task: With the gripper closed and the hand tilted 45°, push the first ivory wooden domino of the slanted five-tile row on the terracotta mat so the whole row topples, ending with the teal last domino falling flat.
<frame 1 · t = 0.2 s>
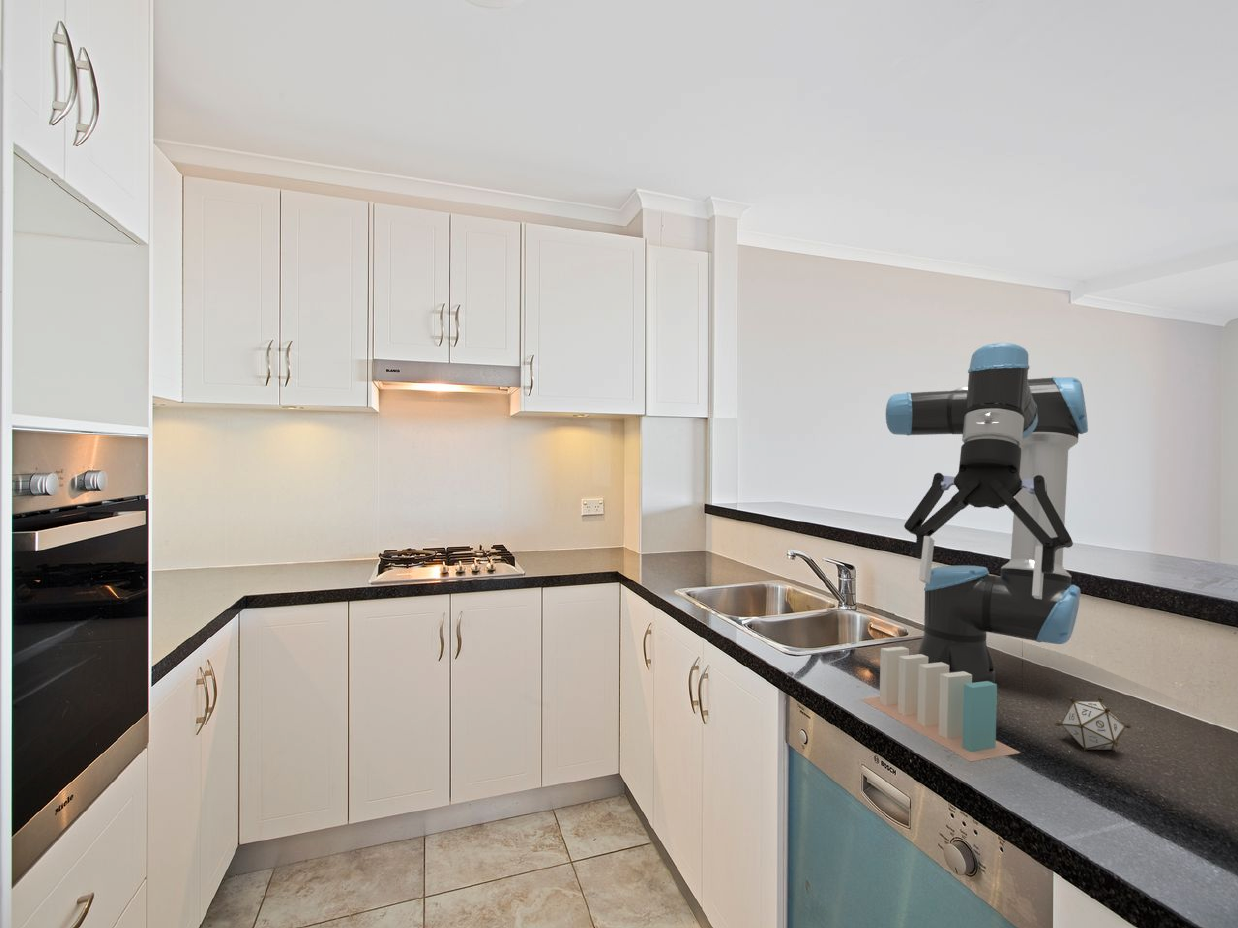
hand: (977, 589, 83), 28 cm above the worktop, tool tilted 20°, fingers open, 13 cm apart
game die: (1091, 751, 95), on the worktop
mat: (932, 726, 102), on the worktop
domino 3: (932, 722, 102), point 1 cm above the worktop, touching mat
domino 2: (912, 712, 106), point 1 cm above the worktop, touching mat
domino 4: (954, 734, 98), point 1 cm above the worktop, touching mat
domino 1: (893, 702, 111), point 1 cm above the worktop, touching mat
last domino: (978, 747, 94), point 1 cm above the worktop, touching mat
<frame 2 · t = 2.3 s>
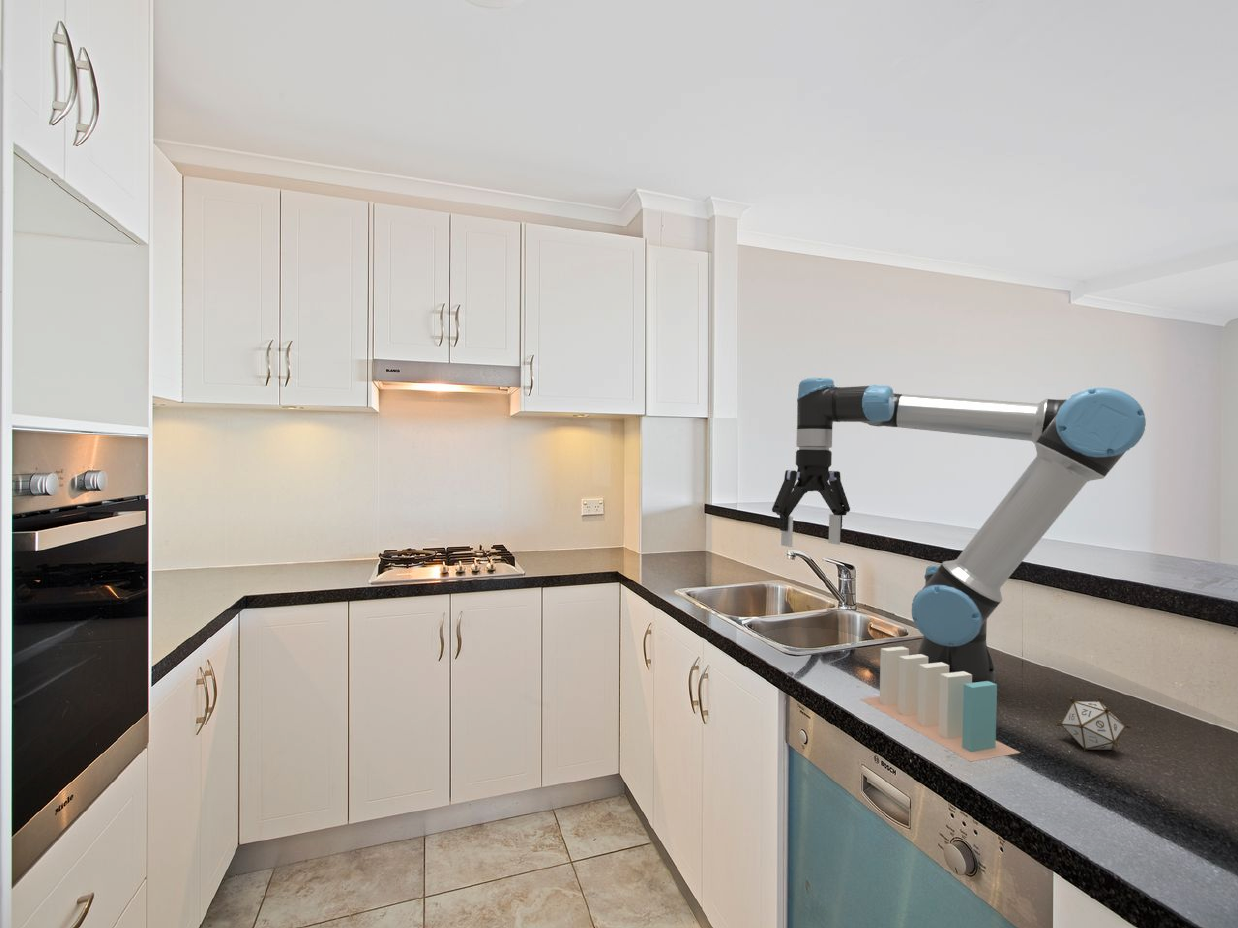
hand: (810, 544, 132), 27 cm above the worktop, tool pointing down, fingers open, 13 cm apart
nothing on the worktop moved.
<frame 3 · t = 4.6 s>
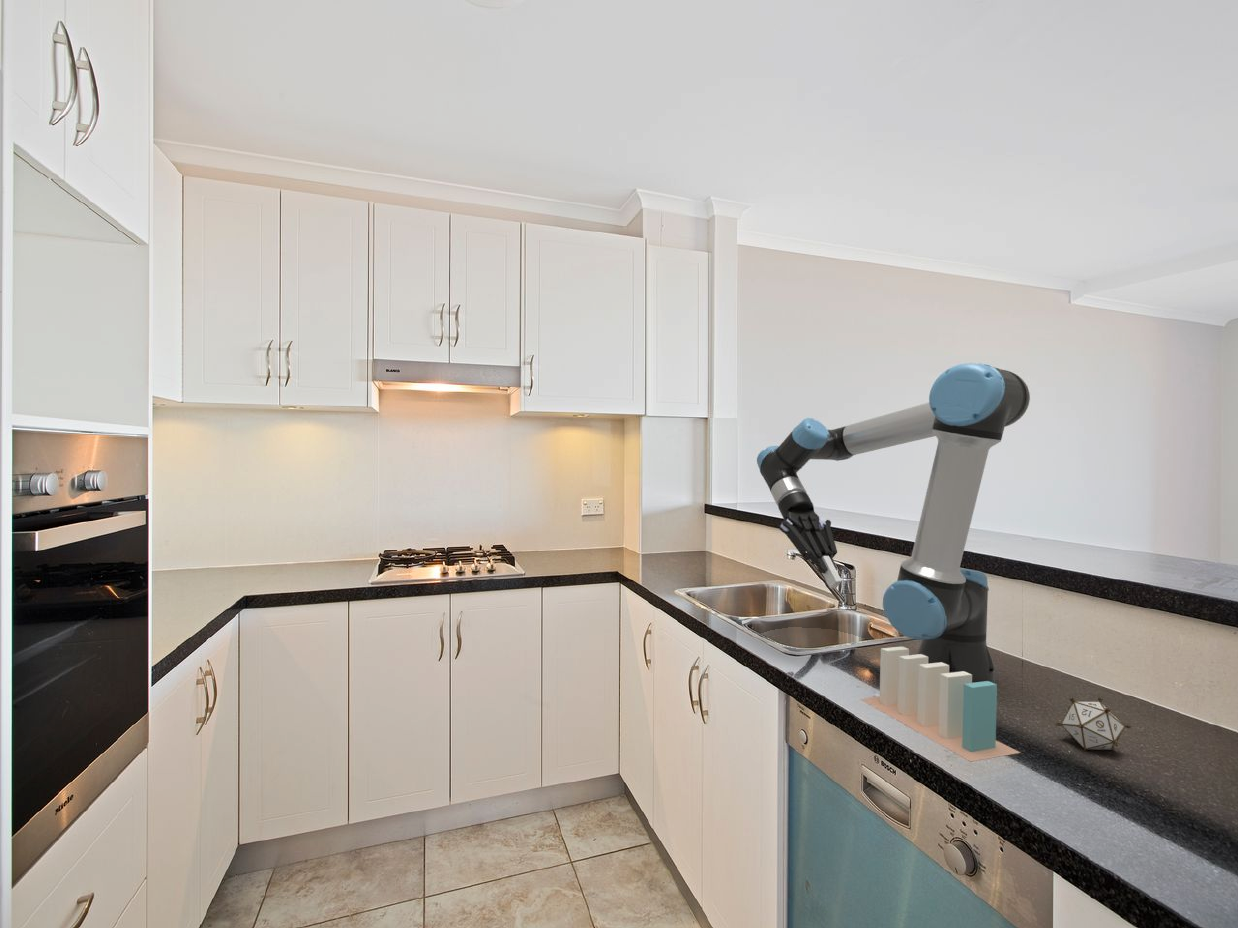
hand: (836, 584, 127), 19 cm above the worktop, tool tilted 45°, fingers closed
nothing on the worktop moved.
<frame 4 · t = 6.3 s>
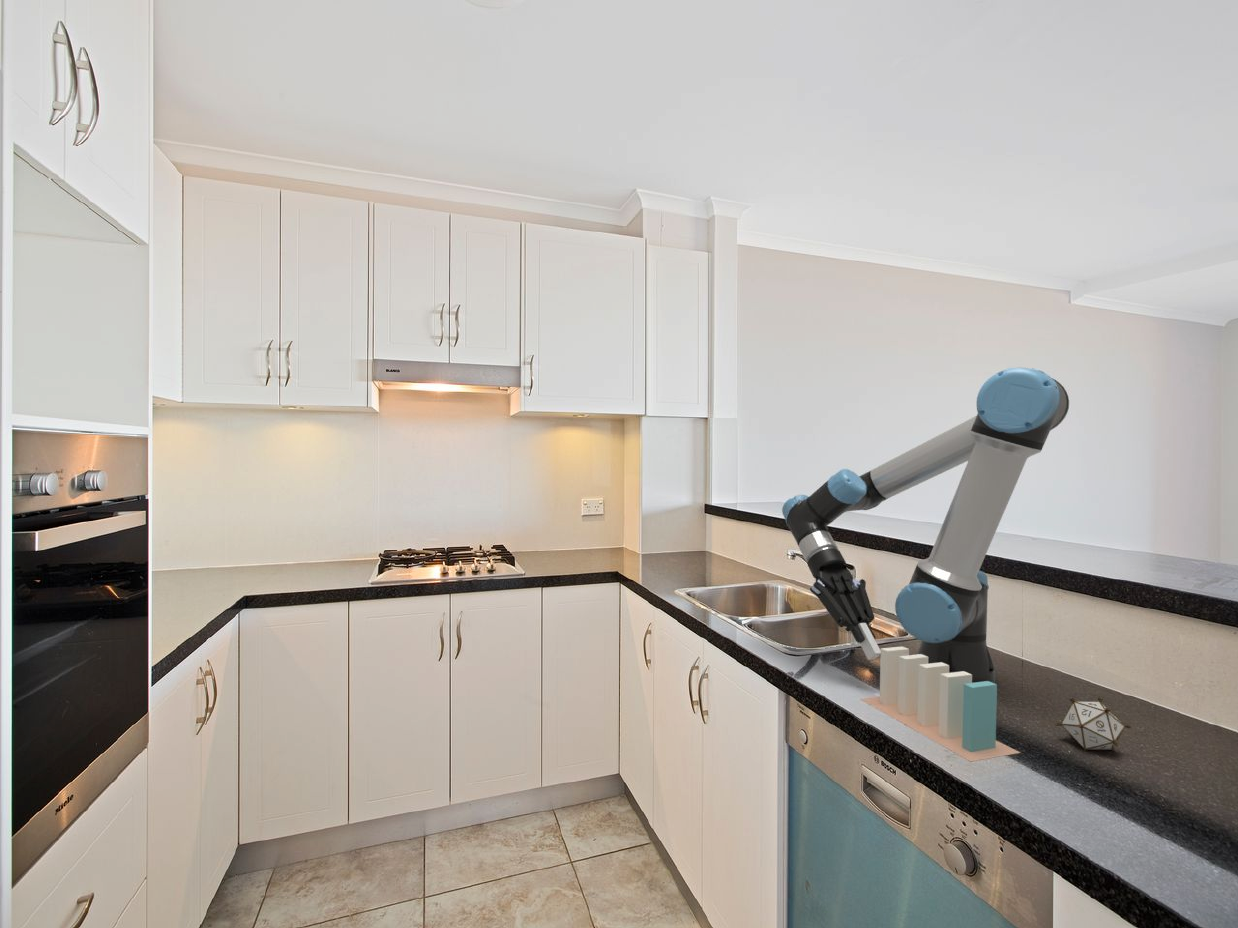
hand: (874, 656, 115), 8 cm above the worktop, tool tilted 45°, fingers closed
nothing on the worktop moved.
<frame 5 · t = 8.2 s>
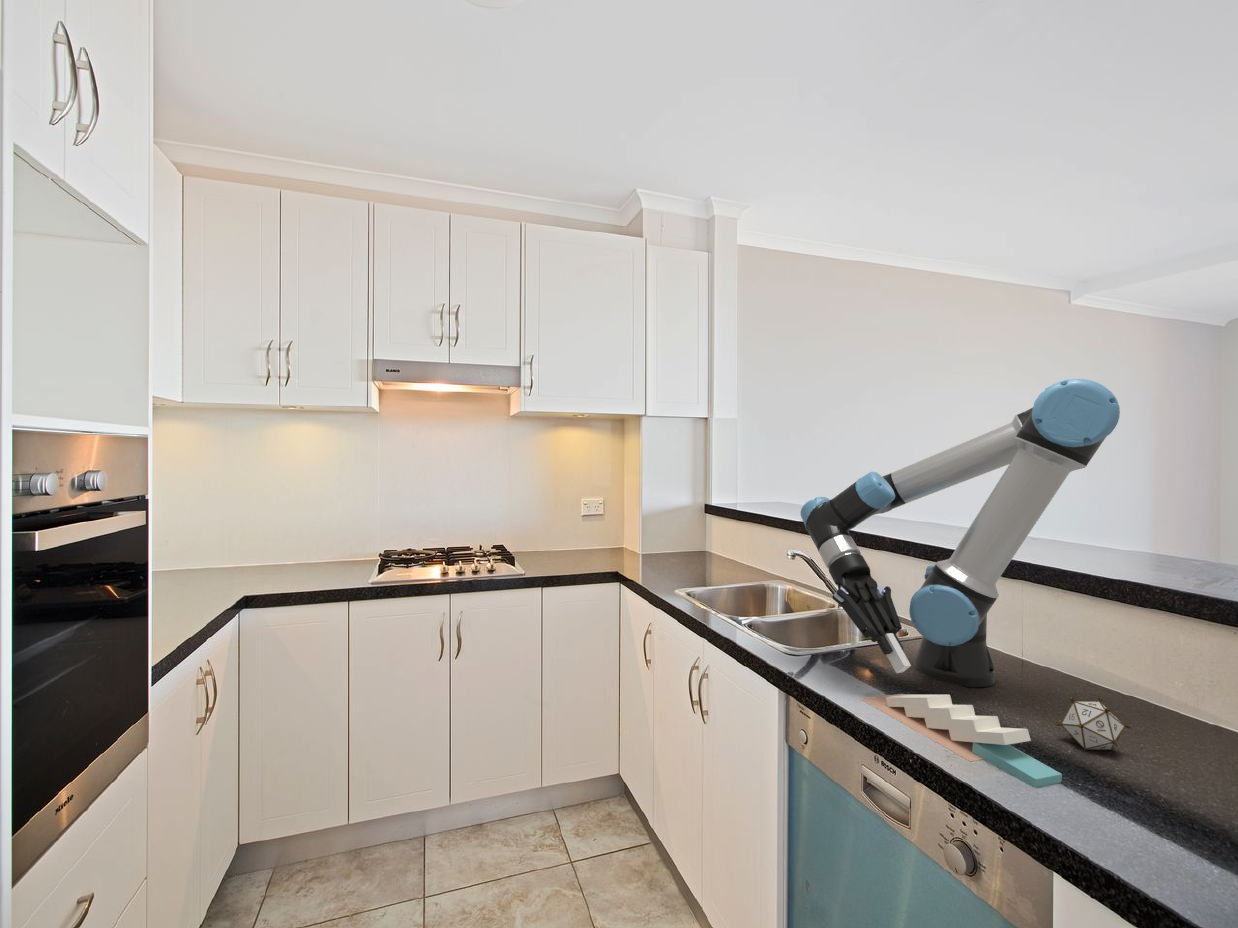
hand: (903, 669, 109), 8 cm above the worktop, tool tilted 45°, fingers closed
domino 3: (937, 721, 101), point 1 cm above the worktop, tilted 69°, touching domino 2, domino 4, mat
domino 2: (916, 710, 106), point 1 cm above the worktop, tilted 69°, touching domino 1, domino 3, mat
domino 4: (962, 732, 97), point 2 cm above the worktop, tilted 69°, touching domino 3, last domino
domino 1: (897, 700, 110), point 1 cm above the worktop, tilted 69°, touching domino 2, mat
last domino: (985, 745, 93), point 2 cm above the worktop, tilted 93°, touching domino 4, mat
everything else where it was.
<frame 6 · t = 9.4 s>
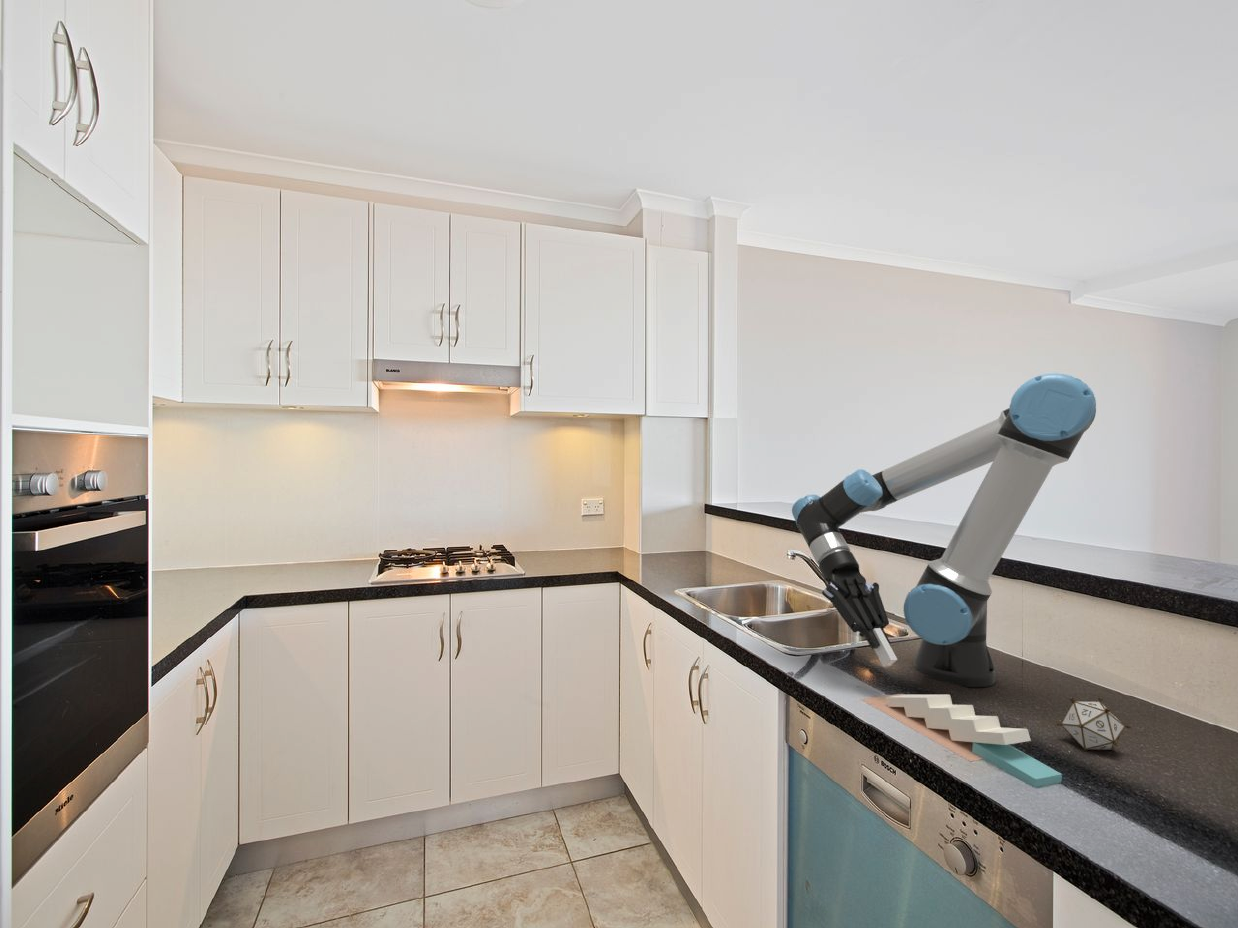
hand: (890, 663, 112), 8 cm above the worktop, tool tilted 45°, fingers closed
nothing on the worktop moved.
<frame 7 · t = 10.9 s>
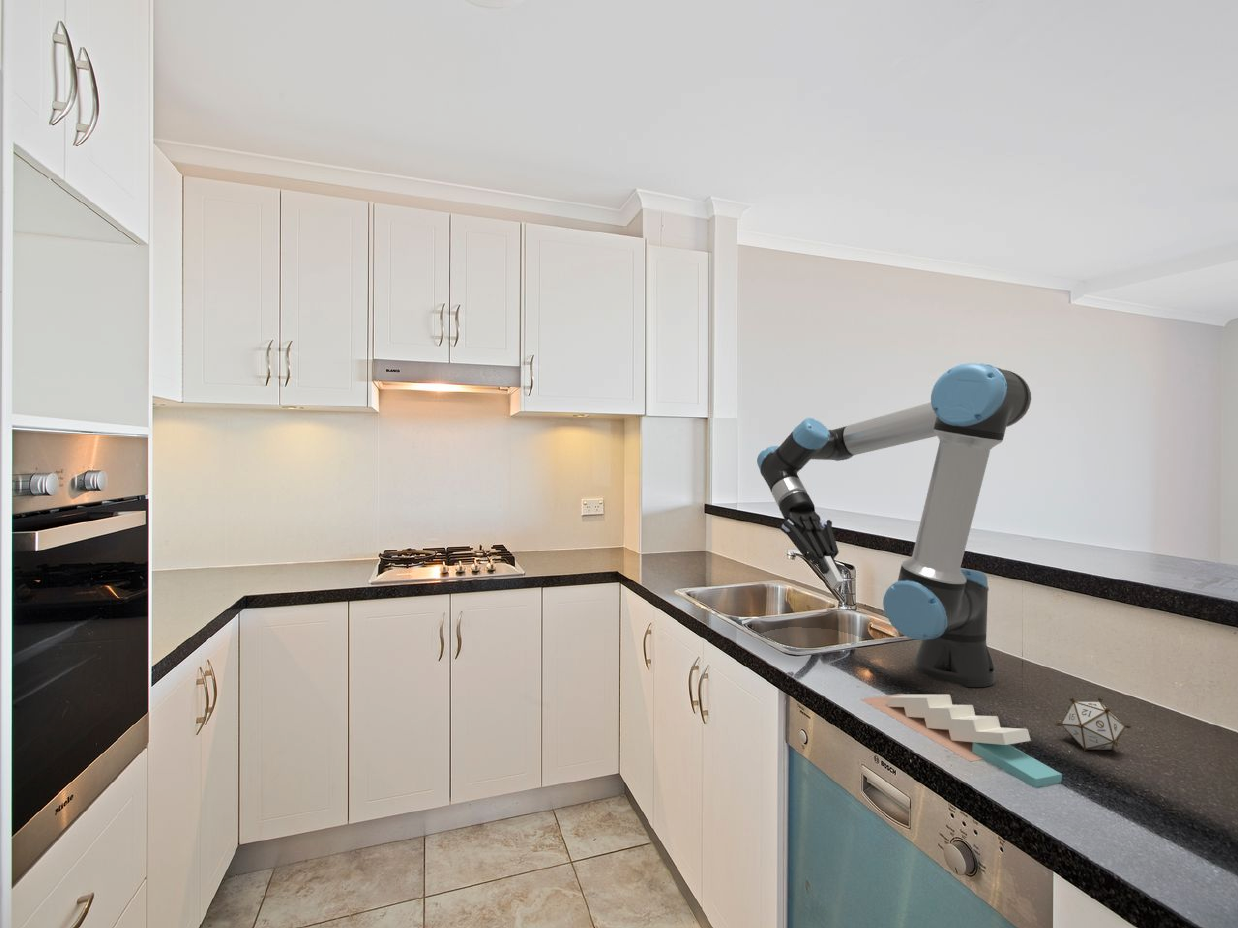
hand: (837, 584, 126), 19 cm above the worktop, tool tilted 45°, fingers closed
nothing on the worktop moved.
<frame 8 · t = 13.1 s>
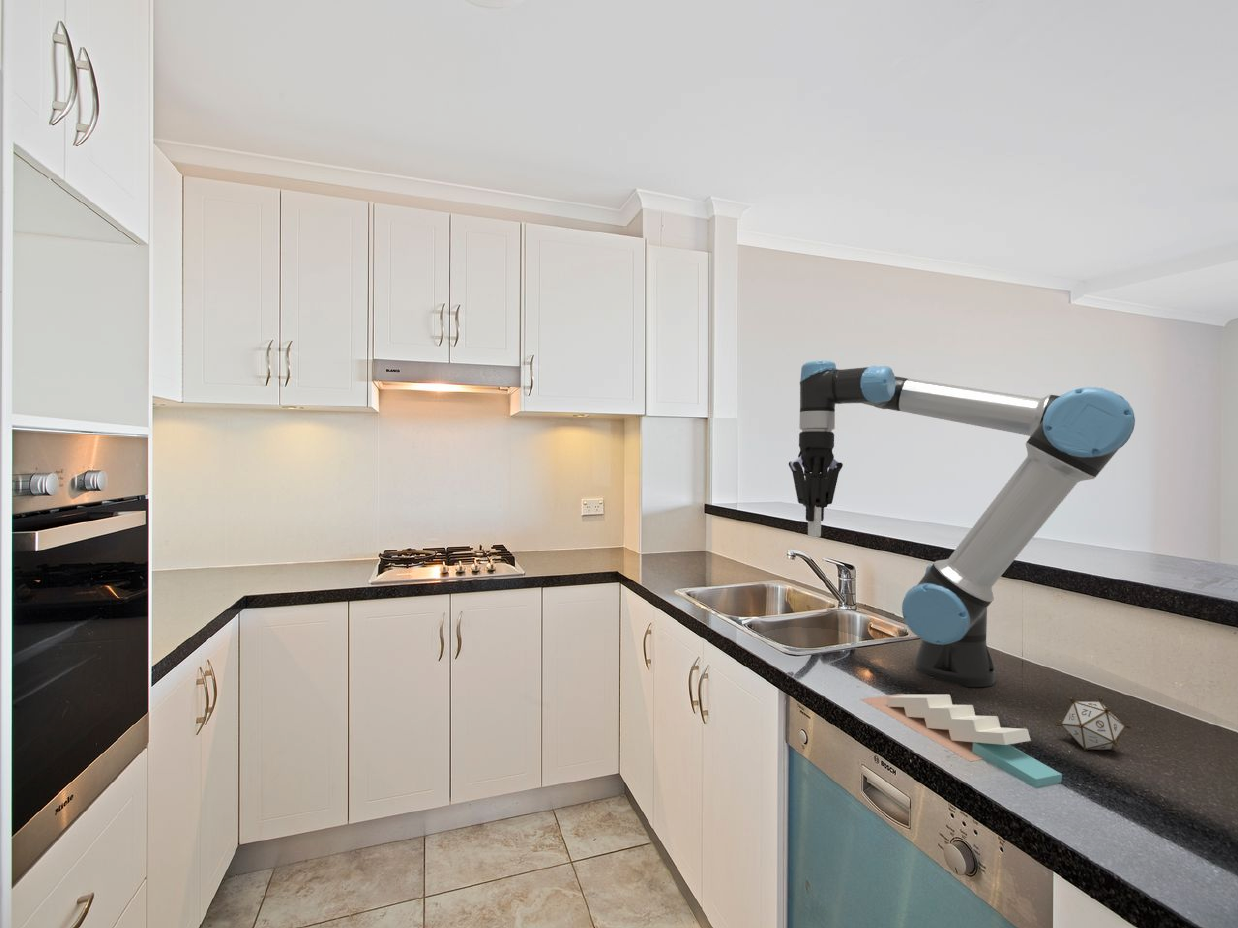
hand: (814, 535, 134), 28 cm above the worktop, tool pointing down, fingers closed
nothing on the worktop moved.
at the end: last domino tilted 93°; domino 3 tilted 69°; domino 1 tilted 69° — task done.
